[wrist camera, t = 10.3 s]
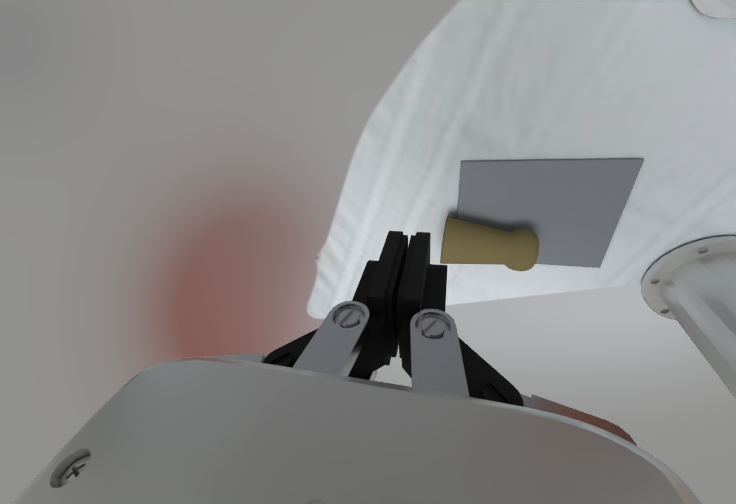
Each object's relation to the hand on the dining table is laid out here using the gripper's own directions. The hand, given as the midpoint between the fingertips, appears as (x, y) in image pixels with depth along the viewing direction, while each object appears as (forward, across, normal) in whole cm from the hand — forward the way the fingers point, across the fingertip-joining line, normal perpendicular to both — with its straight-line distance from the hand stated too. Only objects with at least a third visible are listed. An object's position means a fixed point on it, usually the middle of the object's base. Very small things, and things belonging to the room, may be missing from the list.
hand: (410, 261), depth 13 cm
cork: (+24, -1, +14) cm, 28 cm away
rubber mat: (+27, -12, +12) cm, 32 cm away
